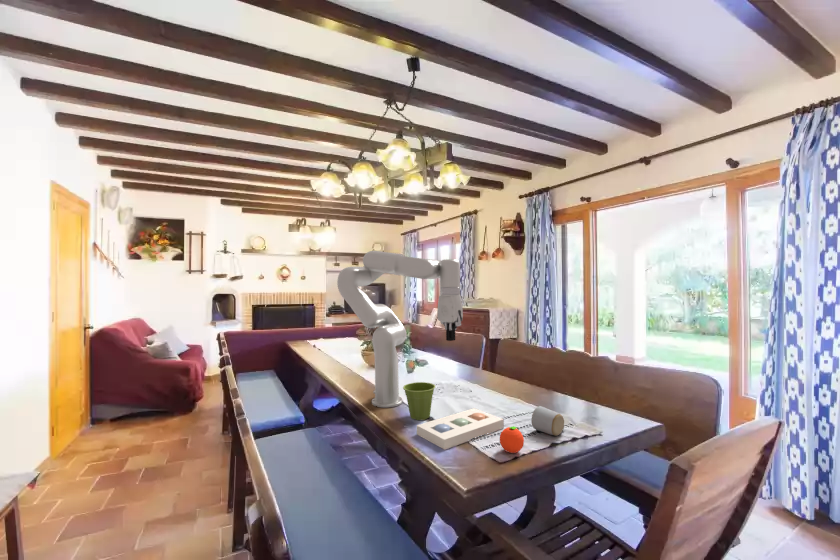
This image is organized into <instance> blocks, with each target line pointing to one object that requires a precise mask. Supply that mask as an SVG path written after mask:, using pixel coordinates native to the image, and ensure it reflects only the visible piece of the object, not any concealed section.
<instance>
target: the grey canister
mask: <svg viewBox="0 0 840 560" xmlns="http://www.w3.org/2000/svg"><path fill="white" fill-rule="evenodd" d="M531 426H532V427H533V429H534V430H537V431H539V432H542V433H545V434H548V435H551V436H555V437H556V436H559V435H560V434H561V433H562V432H563V430H564V429H565V427H566V426H565V419H564V417H563V415H562V414H560V413H559V412H557V411H554V410H551V409H549V408H546V407H544V406H541V405H540V406H536V408H535V409H534V410H533V412H532V414H531Z"/></svg>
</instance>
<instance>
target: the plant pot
mask: <svg viewBox="0 0 840 560" xmlns="http://www.w3.org/2000/svg"><path fill="white" fill-rule="evenodd" d="M435 388H436V385H435V384H433V383H430V382H424V381H423V382H422V381H420V382H419V381H417V382H411V383H407V384H405V385H403V387H402V389H403V390H404V393H405V396H406V401H407V402H406V403H407V406H408V411H409V417H410V418H411V419H412V420H416V421H424V420H427V419H428V418H430V416H431V412H432V411H431V410H432V403H433V402H432V401H433V395H434V390H435Z"/></svg>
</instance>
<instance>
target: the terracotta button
mask: <svg viewBox="0 0 840 560" xmlns="http://www.w3.org/2000/svg"><path fill="white" fill-rule="evenodd" d="M471 418H472V419H475V420H477V421H480V420H483V419H485V415H484V414H482V413H473V414H472V415H471Z"/></svg>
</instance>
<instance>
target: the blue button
mask: <svg viewBox="0 0 840 560" xmlns="http://www.w3.org/2000/svg"><path fill="white" fill-rule="evenodd" d="M435 430H436V431H438V432H440V433H443V432H446V431H449V430H450V426H449V425H447V424H438V425H436V426H435Z"/></svg>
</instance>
